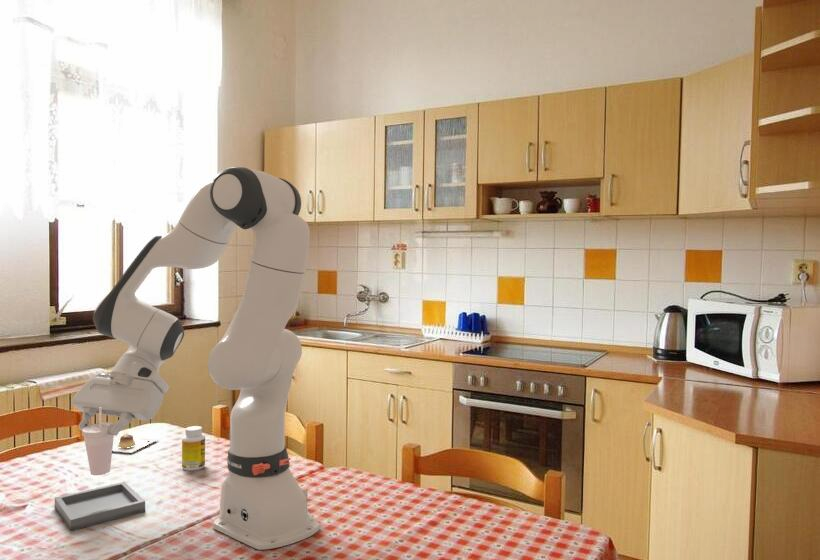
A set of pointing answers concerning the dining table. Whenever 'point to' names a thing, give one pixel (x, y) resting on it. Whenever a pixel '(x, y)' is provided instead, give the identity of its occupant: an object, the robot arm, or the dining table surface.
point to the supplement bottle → (193, 449)
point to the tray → (98, 505)
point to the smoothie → (98, 446)
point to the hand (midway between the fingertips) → (96, 431)
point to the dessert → (129, 442)
